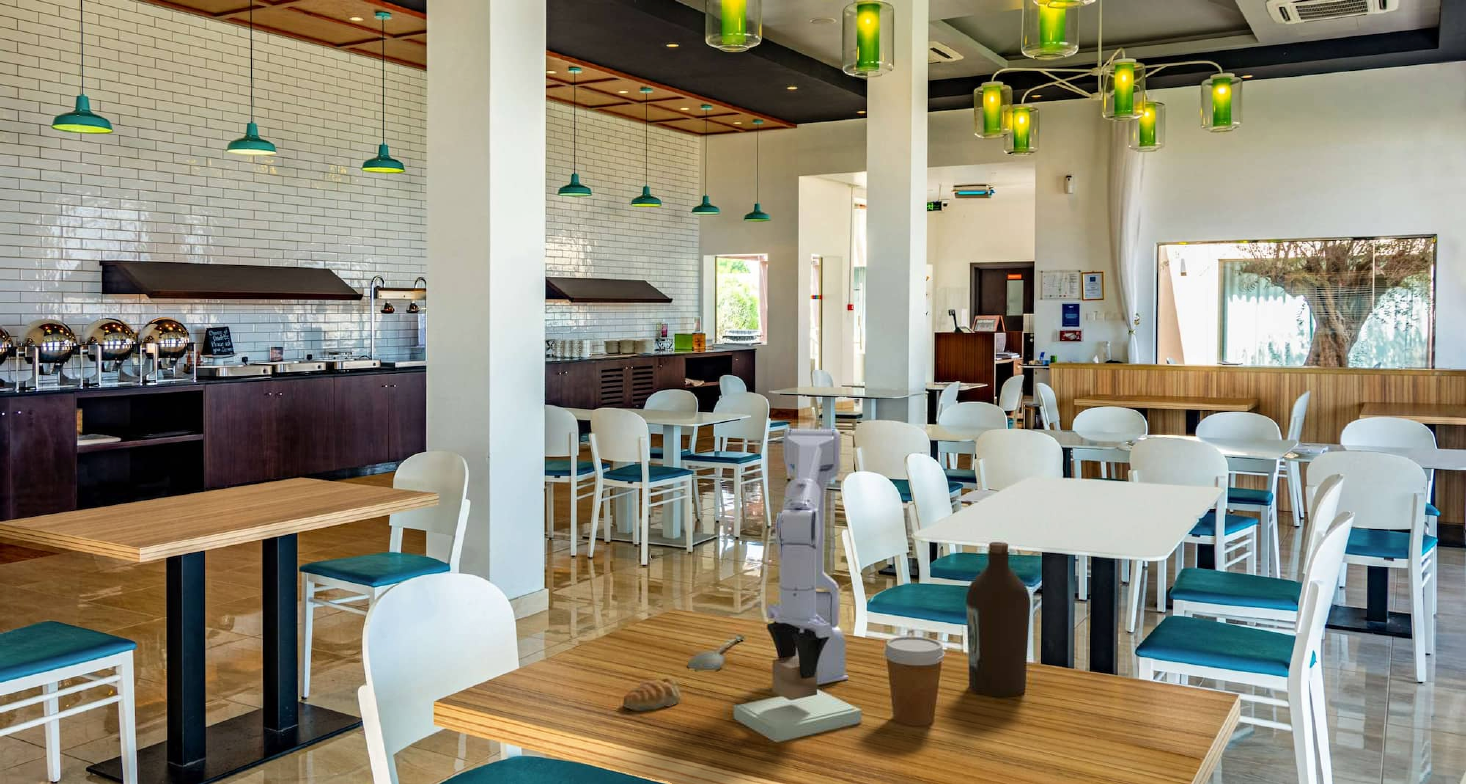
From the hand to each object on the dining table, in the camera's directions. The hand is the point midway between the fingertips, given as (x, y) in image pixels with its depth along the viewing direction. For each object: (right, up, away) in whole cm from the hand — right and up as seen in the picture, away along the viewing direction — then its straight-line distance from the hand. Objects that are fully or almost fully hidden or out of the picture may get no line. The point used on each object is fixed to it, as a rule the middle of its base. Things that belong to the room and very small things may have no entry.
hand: (797, 672), depth 168 cm
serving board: (0, -8, 0) cm, 8 cm away
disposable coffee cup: (+18, -8, +1) cm, 20 cm away
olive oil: (+35, -7, +16) cm, 39 cm away
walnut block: (0, -3, 0) cm, 3 cm away
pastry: (-23, -8, +9) cm, 26 cm away
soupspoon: (-12, -7, +36) cm, 38 cm away
